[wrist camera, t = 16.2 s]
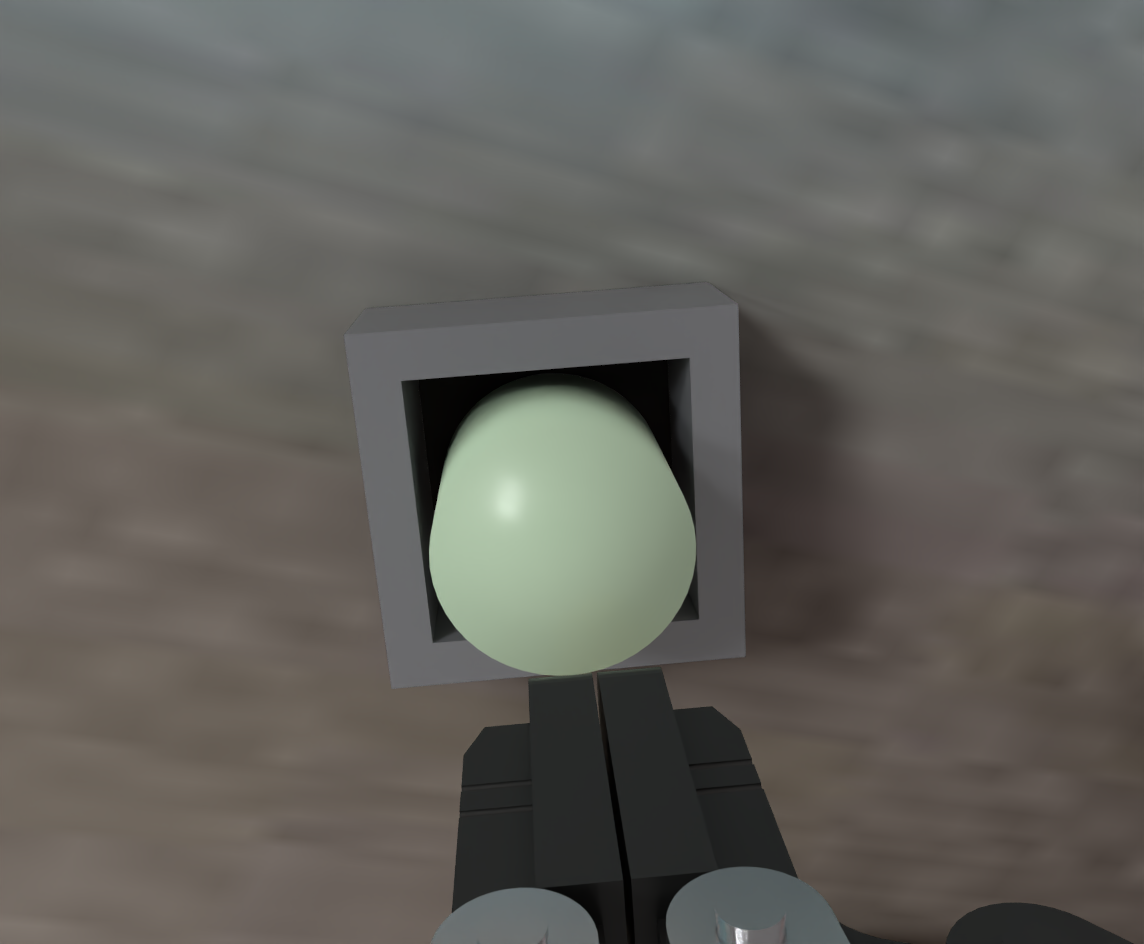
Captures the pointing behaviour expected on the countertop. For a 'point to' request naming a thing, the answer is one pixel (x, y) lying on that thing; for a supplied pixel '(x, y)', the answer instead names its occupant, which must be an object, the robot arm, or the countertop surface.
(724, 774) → the robot arm
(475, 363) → the button housing
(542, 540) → the button
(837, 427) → the countertop surface
